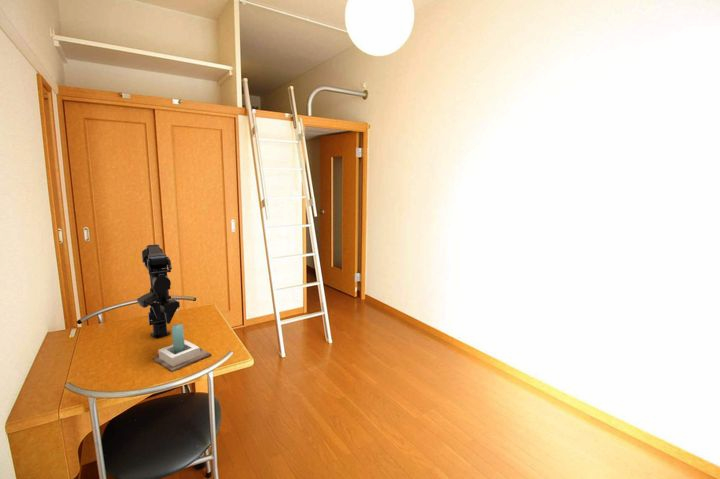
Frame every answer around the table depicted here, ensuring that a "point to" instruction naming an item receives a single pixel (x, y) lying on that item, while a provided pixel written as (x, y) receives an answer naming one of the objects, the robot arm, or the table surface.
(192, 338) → the table surface
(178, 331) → the teal peg
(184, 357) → the socket
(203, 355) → the base board
